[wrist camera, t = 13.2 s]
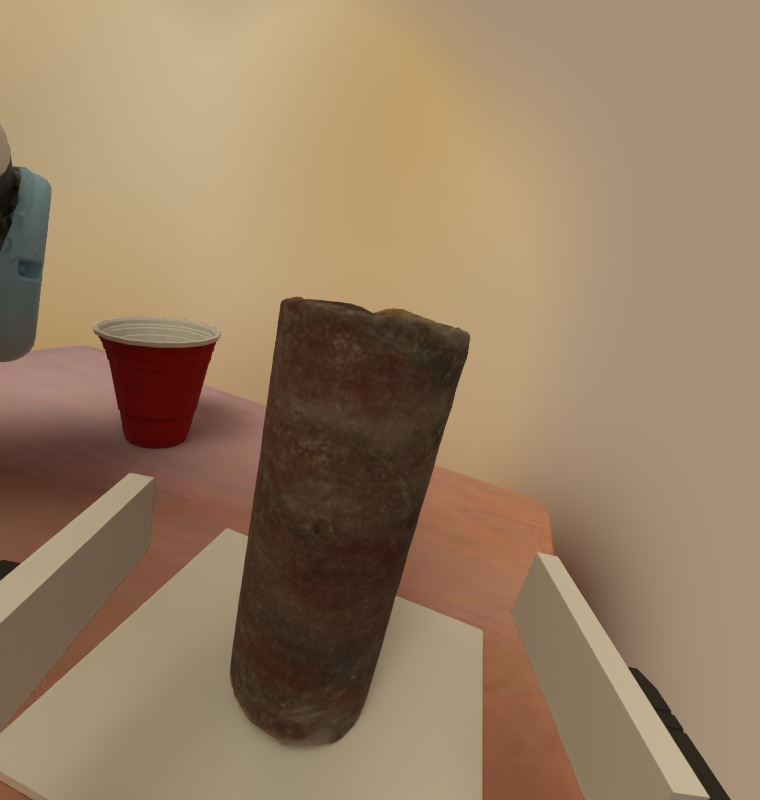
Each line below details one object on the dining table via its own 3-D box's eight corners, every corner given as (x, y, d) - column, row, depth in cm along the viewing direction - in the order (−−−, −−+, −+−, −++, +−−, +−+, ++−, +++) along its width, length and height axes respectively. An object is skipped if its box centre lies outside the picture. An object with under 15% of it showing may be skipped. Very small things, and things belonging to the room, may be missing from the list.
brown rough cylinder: (201, 757, 17) (270, 286, 11) (238, 612, 24) (294, 274, 17) (373, 759, 18) (523, 345, 12) (362, 622, 25) (453, 312, 19)
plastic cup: (102, 411, 44) (104, 303, 40) (208, 417, 48) (218, 321, 45) (77, 461, 34) (77, 327, 31) (211, 462, 39) (224, 346, 36)
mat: (-24, 765, 15) (-25, 756, 15) (226, 534, 30) (226, 527, 30) (475, 1061, 12) (481, 1053, 12) (480, 636, 27) (482, 630, 27)
